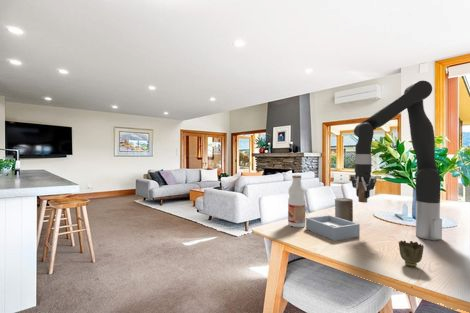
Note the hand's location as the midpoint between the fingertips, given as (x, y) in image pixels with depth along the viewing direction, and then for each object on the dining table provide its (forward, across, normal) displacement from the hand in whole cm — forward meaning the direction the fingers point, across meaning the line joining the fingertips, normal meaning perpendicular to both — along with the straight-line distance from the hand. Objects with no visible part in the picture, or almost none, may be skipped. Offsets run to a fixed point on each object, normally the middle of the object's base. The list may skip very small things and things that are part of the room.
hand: (362, 197), depth 129 cm
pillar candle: (+19, +19, -8) cm, 28 cm away
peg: (+2, 0, 0) cm, 2 cm away
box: (+18, +7, +13) cm, 24 cm away
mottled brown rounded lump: (+19, -34, +16) cm, 42 cm away
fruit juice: (+19, +25, +21) cm, 38 cm away
